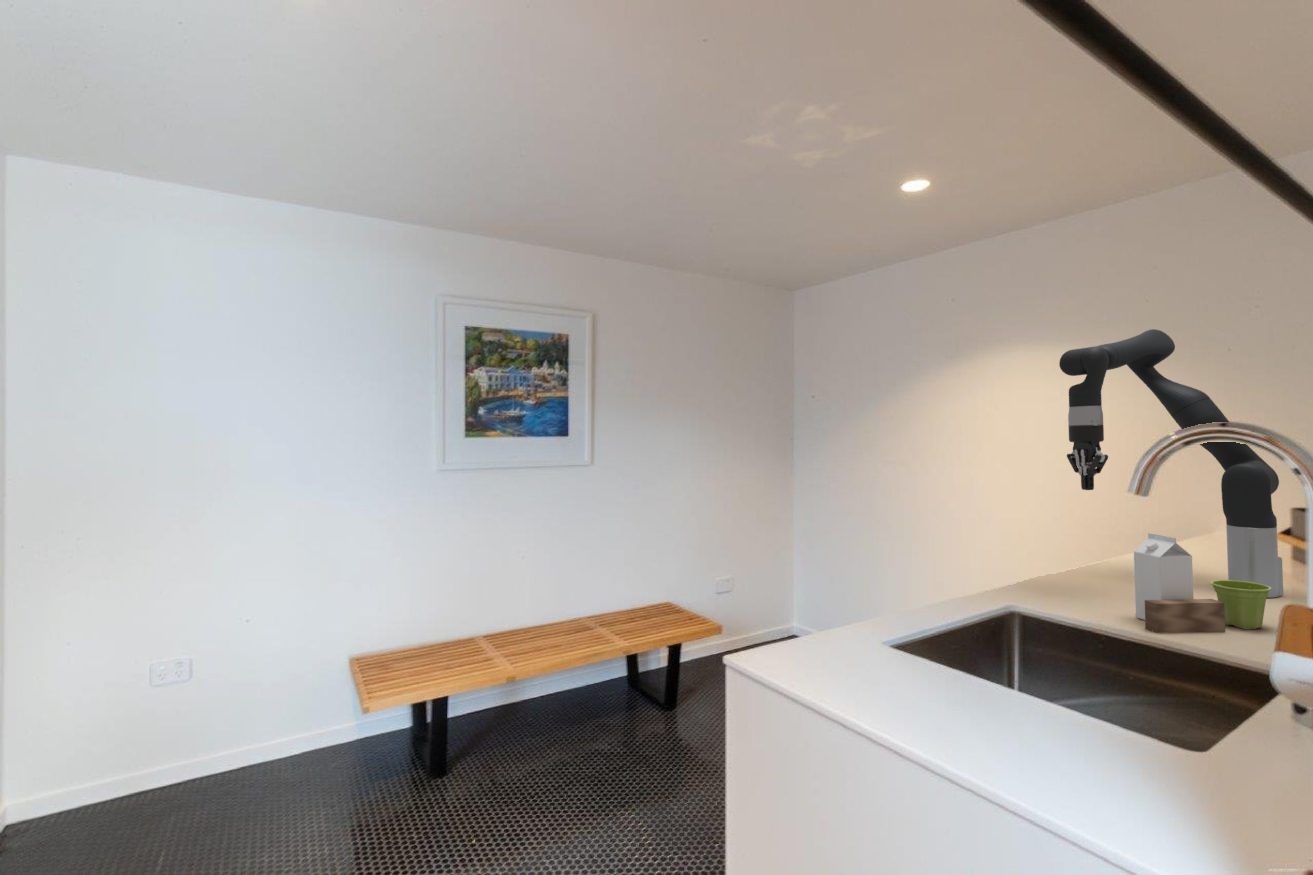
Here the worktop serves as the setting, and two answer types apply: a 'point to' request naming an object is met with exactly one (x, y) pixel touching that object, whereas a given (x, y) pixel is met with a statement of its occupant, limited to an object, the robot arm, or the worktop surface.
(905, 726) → the worktop surface
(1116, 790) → the worktop surface
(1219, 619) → the brown block
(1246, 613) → the plant pot
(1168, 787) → the worktop surface
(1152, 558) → the milk carton
